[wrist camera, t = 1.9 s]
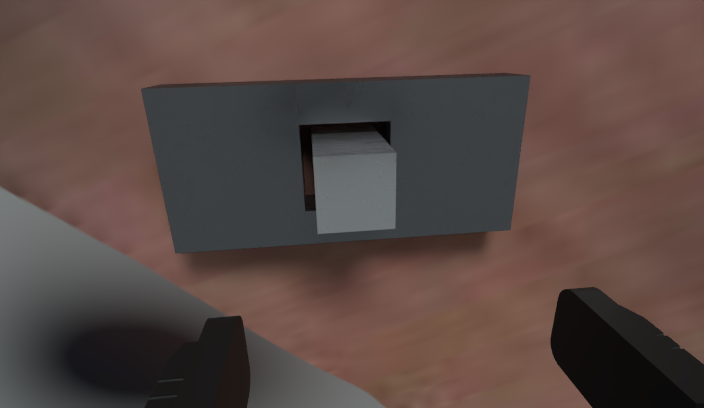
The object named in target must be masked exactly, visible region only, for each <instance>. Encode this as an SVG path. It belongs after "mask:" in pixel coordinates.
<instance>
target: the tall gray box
mask: <svg viewBox="0 0 704 408" xmlns="http://www.w3.org/2000/svg"><path fill="white" fill-rule="evenodd" d="M311 131H312V150H313V168H314V183H315V199H316V215H317V231H318V234H325V233H340V232H355V231H369V230H384V229H395V221H396V154H397V153H396V152H395V151H394V149H393V148H392V147H391V146H390V145H389V144H388V143H387V142H386V140H385V139H384V138H383V137H382V136H381V135H380V134H379V133H378V131H377V130H376V129H375V128H374V127H373V126H372V125H352V126H330V127H311Z"/></svg>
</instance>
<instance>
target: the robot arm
mask: <svg viewBox="0 0 704 408" xmlns="http://www.w3.org/2000/svg"><path fill="white" fill-rule="evenodd" d="M551 349H552V353H553V356H554V358H555V360H556V362H557V364H558V365H559V366H560V368H561V369H562V370H563V371H564V373H565V374H566V375H567V376H568V378H569V379H570V380H571V381H572V383H573V384H574V385H575V386H576V388H577V389H578V390H579V391H580V393H581V394H582V395H583V396H584V398H585V399H586V400H587V401H588V403H589V404H590V405H591V406H592V408H704V364H702V363H701V362H700V361H699V360H697V359H696V358H695V357H694V356H692V355H691V354H690V353H688V352H687V351H686V350H685V349H680V347H679V345H678V344H677V343H676V342H674V341H673V340H672V339H671V338H669V337H668V336H664V335H663V332H662V331H661V330H659V329H658V328H657V327H655V326H654V325H653V324H652V323H650V322H649V321H648V320H647V319H645V318H644V317H642V316H640V315H638V314H636V313H634V312H632V311H630V310H628V309H626V308H624V307H622V306H620V305H618V304H617V303H616V302H614V301H613V300H612V299H611V298H609V297H608V296H607V295H606V294H604V293H603V292H602V291H601V290H599V289H598V288H595V287H588V288H576V289H565V290H563V291H561V293H560V294H559V297H558V302H557V307H556V312H555V318H554V323H553V328H552V334H551ZM249 391H250V366H249V360H248V353H247V346H246V339H245V333H244V326H243V321H242V318H241V316H231V317H219V318H208V319H207V321H206V323H205V325H204V328H203V330H202V333H201V336H200V338H199V341H198V342H187V343H183V344H182V345H181V346H180V347H179V348H178V349H177V350H176V351H175V352H174V353H173V354H172V355H171V356H170V357H169V358H168V360H167V361H166V363H165V365H164V367H163V369H162V372H161V374H160V376H159V378H158V383H156V384H155V387H154V389H153V391H152V393H151V395H150V400H149V401H148V402H147V404H146V406H145V408H247V404H248V398H249Z"/></svg>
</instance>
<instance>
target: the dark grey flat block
mask: <svg viewBox="0 0 704 408" xmlns="http://www.w3.org/2000/svg"><path fill="white" fill-rule="evenodd" d="M529 81H530V75H521V74H511V73H493V74H463V75H434V76H404V77H374V78H344V79H315V80H285V81H255V82H226V83H196V84H166V85H157V86H152V87H147V88H143V89H141V91H142V96H143V101H144V105H145V110H146V115H147V120H148V125H149V129H150V134H151V139H152V144H153V148H154V153H155V158H156V163H157V167H158V172H159V177H160V182H161V187H162V191H163V196H164V201H165V206H166V210H167V215H168V220H169V225H170V229H171V234H172V239H173V244H174V248H175V253H188V252H202V251H216V250H231V249H245V248H259V247H274V246H288V245H303V244H317V243H331V242H346V241H360V240H374V239H389V238H403V237H418V236H432V235H446V234H461V233H475V232H489V231H504V230H510V228H511V220H512V212H513V205H514V197H515V189H516V182H517V174H518V166H519V158H520V151H521V143H522V135H523V128H524V120H525V112H526V105H527V97H528V89H529ZM379 121H382V137H383V138H384V139H385V140H386V142H387V143H388V144H389V145H390V146H391V147H392V148H393V149H394V151H395V152H396V153H397V154H396V221H395V229H384V230H369V231H355V232H340V233H325V234H318V231H317V215H316V199H315V195H305V181H304V168H303V154H302V140H301V126H300V125H310V124H333V123H356V122H379Z"/></svg>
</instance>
